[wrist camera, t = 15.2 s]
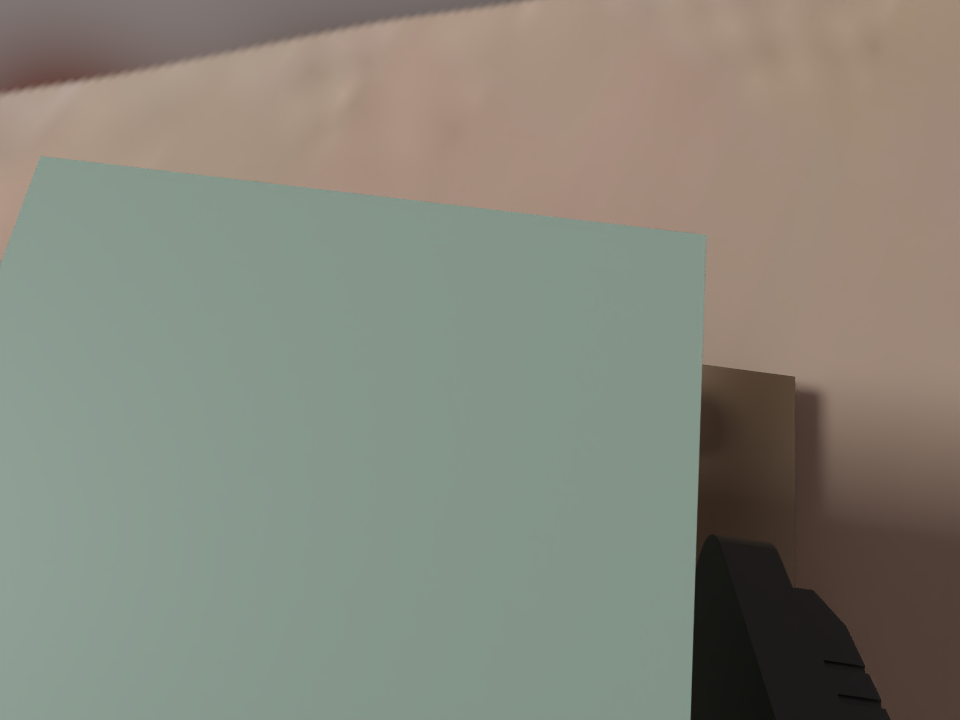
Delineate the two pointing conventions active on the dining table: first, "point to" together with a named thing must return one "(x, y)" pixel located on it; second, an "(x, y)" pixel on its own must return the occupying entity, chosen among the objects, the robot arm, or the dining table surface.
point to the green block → (342, 456)
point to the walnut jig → (747, 459)
